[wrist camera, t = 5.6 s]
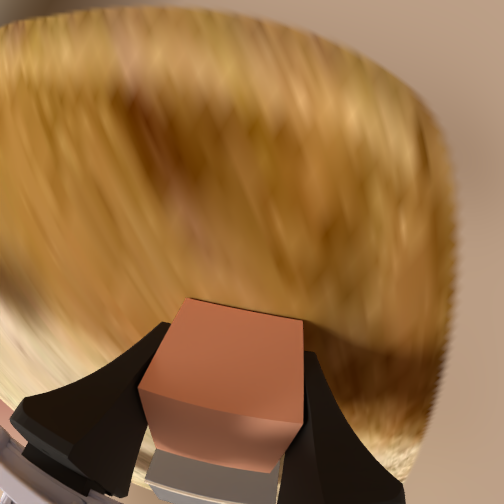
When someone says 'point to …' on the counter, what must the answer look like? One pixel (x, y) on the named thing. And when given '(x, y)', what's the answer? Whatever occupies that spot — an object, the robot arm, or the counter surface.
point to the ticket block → (208, 482)
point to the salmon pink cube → (226, 386)
